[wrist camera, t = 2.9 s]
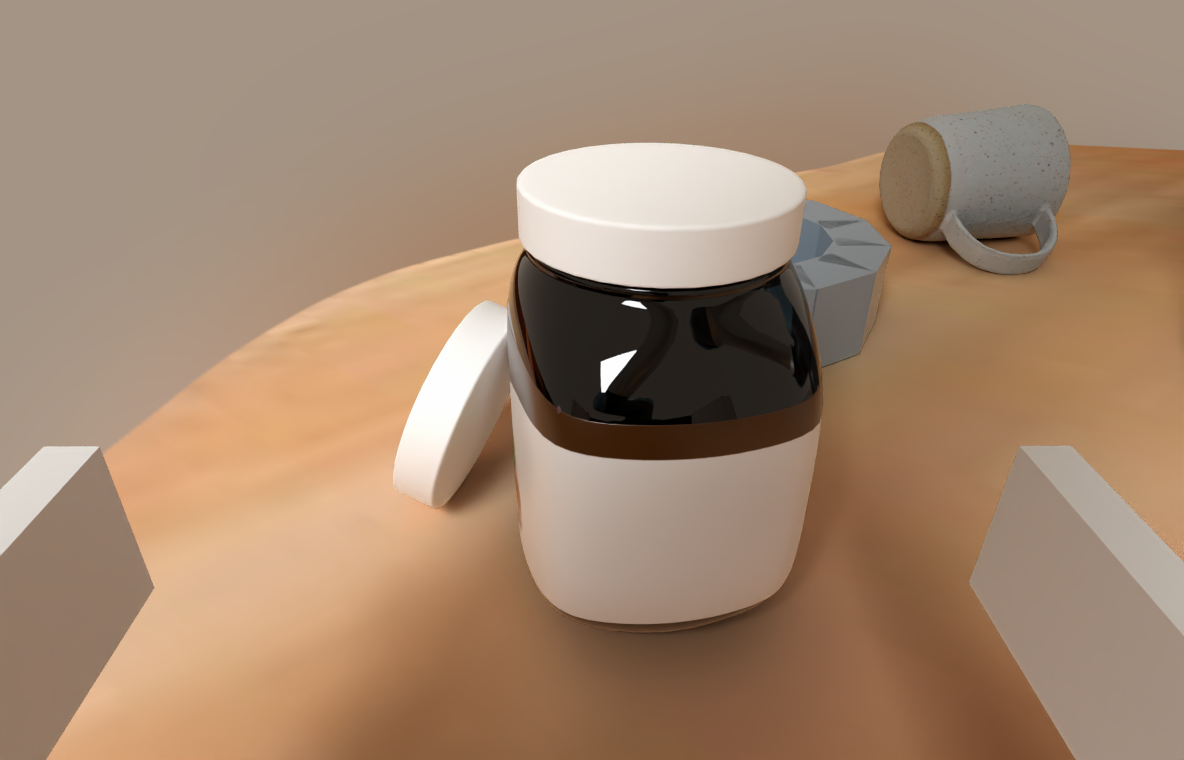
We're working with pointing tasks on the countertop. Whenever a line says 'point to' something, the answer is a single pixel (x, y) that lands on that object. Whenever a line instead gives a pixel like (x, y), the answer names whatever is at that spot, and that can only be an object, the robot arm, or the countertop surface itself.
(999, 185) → the ceramic mug
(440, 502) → the spread jar
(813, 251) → the slate bowl
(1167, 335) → the countertop surface
